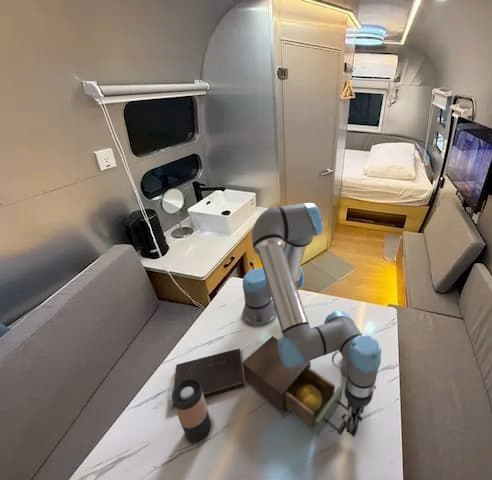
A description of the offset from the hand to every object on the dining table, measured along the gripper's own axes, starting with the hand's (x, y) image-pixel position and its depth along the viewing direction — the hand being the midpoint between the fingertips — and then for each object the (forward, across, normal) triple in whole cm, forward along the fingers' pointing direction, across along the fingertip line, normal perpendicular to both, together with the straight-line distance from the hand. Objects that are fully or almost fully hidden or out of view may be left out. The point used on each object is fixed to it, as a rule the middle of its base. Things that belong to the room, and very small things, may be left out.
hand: (351, 431), depth 84 cm
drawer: (+2, 0, +13) cm, 14 cm away
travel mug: (+3, -27, +39) cm, 48 cm away
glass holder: (+3, +19, +13) cm, 23 cm away
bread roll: (+1, 0, +17) cm, 17 cm away
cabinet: (+3, 0, +31) cm, 31 cm away
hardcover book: (+3, -14, +52) cm, 54 cm away
